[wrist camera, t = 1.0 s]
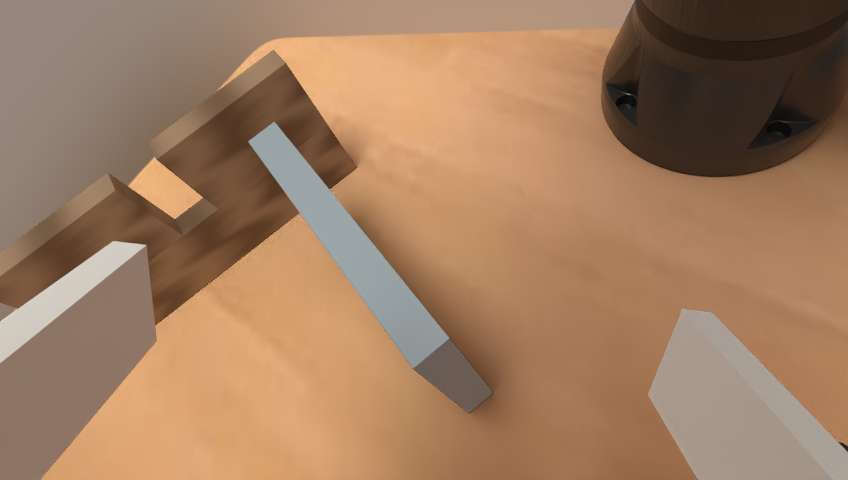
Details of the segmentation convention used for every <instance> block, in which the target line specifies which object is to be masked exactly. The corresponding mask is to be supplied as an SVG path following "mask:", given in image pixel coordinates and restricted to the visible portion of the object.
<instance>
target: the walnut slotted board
mask: <svg viewBox="0 0 848 480" xmlns="http://www.w3.org/2000/svg"><path fill="white" fill-rule="evenodd" d="M273 122H275V123H276V124H277V125H278V127H279V128H280V129H281V130H282V132H283V133H284V134H285V135H286V137H287V138H288V139H289V140H290V142H291V143H292V144H293V145H294V146H295V148H296V149H297V150H298V151H299V153H300V154H301V155H302V156H303V158H304V159H305V160H306V161H307V163H308V164H309V165H310V166H311V168H312V169H313V170H314V171H315V172H316V174H317V175H318V176H319V177H320V179H321V180H322V181H323V182H324V184H325V185H326V186H327V187H328V189H330V188H331V187H333V186H334V185H335V184H336V183H338V182H339V181H340V180H342V179H343V178H344V177H345V176H347V175H348V174H349V173H351V172H352V171H353V170H354V169H356V166H355V165H354V163H353V162H352V160H351V159H350V157H349V156H348V154H347V153H346V151H345V150H344V148H343V147H342V146H341V144H340V143H339V141H338V140H337V138H336V137H335V135H334V134H333V132H332V131H331V129H330V128H329V126H328V125H327V123H326V122H325V120H324V119H323V117H322V116H321V114H320V113H319V111H318V110H317V108H316V107H315V106H314V104H313V103H312V101H311V100H310V98H309V97H308V95H307V94H306V92H305V91H304V89H303V88H302V86H301V85H300V83H299V82H298V80H297V79H296V77H295V76H294V74H293V73H292V71H291V70H290V69H289V67H288V66H287V64H286V63H285V62H284V61H283V60H282V58H281V57H280V56H279V55H278V54H277V53H276V52H275V51H274V50H273V51H271V52H270V53H268V54H267V55H266V56H264V57H263V58H262V59H260V60H259V61H258V62H256V63H255V64H254V65H252V66H251V67H250V68H248V69H247V70H246V71H244V72H243V73H242V74H240V75H239V76H237V77H236V78H235V79H233V80H232V81H231V82H229V83H228V84H227V85H225V86H224V87H223V88H221V89H220V90H219V91H217V92H216V93H215V94H213V95H212V96H211V97H209V98H208V99H206V100H205V101H204V102H203V103H201V104H200V105H198V106H197V107H196V108H194V109H193V110H192V111H190V112H189V113H188V114H187V115H185V116H184V117H182V118H181V119H180V120H178V121H177V122H176V123H174V124H173V125H171V126H170V127H169V128H167V129H166V130H165V131H163V132H162V133H161V134H159V135H158V136H157V137H155V138H154V139H153V140H151V141H150V142H149V143H148V144H149V146H150V148H151V150H152V152H153V154H154V156H155V158H156V159H157V160H158V161H159V162H160V163H161V164H163V165H164V166H165V167H166V168H168V169H169V170H170V171H171V172H173V173H174V174H175V175H176V176H178V177H179V178H180V179H181V180H182V181H184V182H185V183H186V184H187V185H189V186H190V187H191V188H192V189H194V190H195V191H196V192H197V193H199V194H200V195H201V196H202V197H204V198H202V199H201V200H200V201H198V202H197V203H196V204H194V205H193V206H192V207H191V208H189V209H188V210H187V211H185V212H184V213H183V214H181V215H180V216H179V217H177V218H176V219H174V218H172V217H171V216H169V215H168V214H166V213H165V212H164V211H162V210H161V209H159V208H158V207H156V206H155V205H154V204H152V203H151V202H149V201H148V200H146V199H145V198H144V197H142V196H141V195H139V194H138V193H136V192H135V191H133V190H132V189H131V188H129V187H128V186H126V185H125V184H123V183H122V182H121V181H119V180H118V179H116V178H115V177H113V176H112V175H111V174H109V173H107V174H105V175H104V176H103V177H101V178H100V179H99V180H97V181H96V182H95V183H93V184H92V185H91V186H90V187H88V188H87V189H85V190H84V191H83V192H81V193H80V194H79V195H77V196H76V197H75V198H73V199H72V200H70V201H69V202H68V203H66V204H65V205H64V206H62V207H61V208H60V209H58V210H57V211H56V212H54V213H53V214H52V215H50V216H49V217H48V218H46V219H45V220H43V221H42V222H41V223H39V224H38V225H37V226H35V227H34V228H33V229H31V230H30V231H29V232H27V233H26V234H25V235H23V236H22V237H21V238H19V239H18V240H17V241H15V242H14V243H12V244H11V245H10V246H8V247H7V248H6V249H4V250H3V251H2V252H0V302H1V303H3V304H6V305H9V306H12V307H15V308H20V307H21V306H23V305H24V304H26V303H27V302H28V301H30V300H31V299H33V298H34V297H35V296H37V295H38V294H40V293H41V292H42V291H44V290H45V289H47V288H48V287H49V286H51V285H52V284H54V283H55V282H56V281H58V280H59V279H61V278H62V277H64V276H65V275H66V274H68V273H69V272H71V271H72V270H73V269H75V268H76V267H78V266H79V265H80V264H82V263H83V262H85V261H86V260H87V259H89V258H90V257H92V256H93V255H94V254H96V253H97V252H99V251H100V250H101V249H103V248H104V247H106V246H107V245H109V244H110V243H111V242H113V241H117V242H126V243H134V244H143V245H147V254H148V264H149V273H150V283H151V292H152V301H153V311H154V320H155V325H156V324H157V323H159V322H160V321H161V320H162V319H164V318H165V317H166V316H168V315H169V314H170V313H171V312H173V311H174V310H175V309H176V308H178V307H179V306H180V305H182V304H183V303H184V302H185V301H187V300H188V299H189V298H191V297H192V296H193V295H194V294H196V293H197V292H198V291H200V290H201V289H202V288H203V287H205V286H206V285H207V284H208V283H210V282H211V281H212V280H214V279H215V278H216V277H217V276H219V275H220V274H221V273H223V272H224V271H225V270H226V269H228V268H229V267H230V266H232V265H233V264H234V263H235V262H237V261H238V260H239V259H240V258H242V257H243V256H244V255H246V254H247V253H248V252H249V251H251V250H252V249H253V248H255V247H256V246H257V245H258V244H260V243H261V242H262V241H264V240H265V239H266V238H267V237H269V236H270V235H271V234H272V233H274V232H275V231H276V230H278V229H279V228H280V227H281V226H283V225H284V224H285V223H287V222H288V221H289V220H290V219H292V218H293V217H294V216H296V215H297V214H298V213H299V211H298V210H297V208H296V207H295V206H294V204H293V203H292V201H291V200H290V199H289V197H288V196H287V194H286V193H285V192H284V190H283V189H282V188H281V186H280V185H279V183H278V182H277V181H276V179H275V178H274V177H273V175H272V174H271V172H270V171H269V170H268V168H267V167H266V165H265V164H264V163H263V161H262V160H261V159H260V157H259V156H258V154H257V153H256V152H255V150H254V149H253V148H252V146H251V145H250V143H249V142H248V141H249V140H251V139H252V138H253V137H255V136H256V135H257V134H259V133H260V132H261V131H263V130H264V129H265V128H267V127H268V126H269V125H271V124H272V123H273Z"/></svg>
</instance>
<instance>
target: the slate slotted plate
mask: <svg viewBox="0 0 848 480" xmlns="http://www.w3.org/2000/svg"><path fill="white" fill-rule="evenodd" d="M248 142H249V143H250V145H251V146H252V148H253V149H254V150H255V152H256V153H257V154H258V156H259V157H260V159H261V160H262V161H263V163H264V164H265V165H266V167H267V168H268V170H269V171H270V172H271V174H272V175H273V177H274V178H275V179H276V181H277V182H278V183H279V185H280V186H281V188H282V189H283V190H284V192H285V193H286V194H287V196H288V197H289V199H290V200H291V201H292V203H293V204H294V206H295V207H296V208H297V210H298V211H299V212H300V214H301V215H302V217H303V218H304V219H305V221H306V222H307V223H308V225H309V226H310V228H311V229H312V230H313V232H314V233H315V234H316V236H317V237H318V239H319V240H320V241H321V243H322V244H323V246H324V247H325V248H326V250H327V251H328V252H329V254H330V255H331V257H332V258H333V259H334V261H335V262H336V263H337V265H338V266H339V268H340V269H341V270H342V272H343V273H344V274H345V276H346V277H347V279H348V280H349V281H350V283H351V284H352V286H353V287H354V288H355V290H356V291H357V292H358V294H359V295H360V297H361V298H362V299H363V301H364V302H365V303H366V305H367V306H368V308H369V309H370V310H371V312H372V313H373V315H374V316H375V317H376V319H377V320H378V321H379V323H380V324H381V326H382V327H383V328H384V330H385V331H386V332H387V334H388V335H389V337H390V338H391V339H392V341H393V342H394V343H395V345H396V346H397V348H398V349H399V350H400V352H401V353H402V355H403V356H404V357H405V359H406V360H407V361H408V363H409V364H410V366H411V367H412V368H413V369H414V370H415V371H416V372H417V373H419V374H420V375H421V376H423V377H424V378H425V379H426V380H428V381H429V382H430V383H431V384H433V385H434V386H435V387H436V388H438V389H439V390H440V391H441V392H443V393H444V394H445V395H446V396H448V397H449V398H450V399H452V400H453V401H454V402H455V403H457V404H458V405H459V406H460V407H462V408H463V409H464V410H465V411H467V412H468V413H470V412H471V411H473V410H474V409H475V408H476V407H477V406H478V405H480V404H481V403H482V402H483V401H484V400H485V399H487V398H488V397H489V396H490V395H491V394H492V393H493V391H492V390H491V389H490V388H489V386H488V385H487V384H486V383H485V381H484V380H483V379H482V378H481V376H480V375H479V374H478V373H477V372H476V370H475V369H474V368H473V367H472V365H471V364H470V363H469V362H468V360H467V359H466V358H465V357H464V355H463V354H462V353H461V352H460V350H459V349H458V348H457V347H456V346H455V344H454V343H453V342H452V341H451V339H450V338H449V337H448V336H447V334H446V333H445V332H444V331H443V329H442V328H441V327H440V326H439V325H438V323H437V322H436V321H435V320H434V318H433V317H432V316H431V315H430V313H429V312H428V311H427V310H426V308H425V307H424V306H423V305H422V304H421V302H420V301H419V300H418V299H417V297H416V296H415V295H414V294H413V292H412V291H411V290H410V289H409V287H408V286H407V285H406V284H405V282H404V281H403V280H402V279H401V278H400V276H399V275H398V274H397V273H396V271H395V270H394V269H393V268H392V266H391V265H390V264H389V263H388V261H387V260H386V259H385V258H384V257H383V255H382V254H381V253H380V252H379V250H378V249H377V248H376V247H375V245H374V244H373V243H372V242H371V240H370V239H369V238H368V237H367V236H366V234H365V233H364V232H363V231H362V229H361V228H360V227H359V226H358V224H357V223H356V222H355V221H354V219H353V218H352V217H351V216H350V214H349V213H348V212H347V211H346V210H345V208H344V207H343V206H342V205H341V203H340V202H339V201H338V200H337V198H336V197H335V196H334V195H333V193H332V192H331V191H330V190H329V189H328V187H327V186H326V185H325V184H324V182H323V181H322V180H321V179H320V177H319V176H318V175H317V174H316V172H315V171H314V170H313V169H312V168H311V166H310V165H309V164H308V163H307V161H306V160H305V159H304V158H303V156H302V155H301V154H300V153H299V151H298V150H297V149H296V148H295V146H294V145H293V144H292V143H291V142H290V140H289V139H288V138H287V137H286V135H285V134H284V133H283V132H282V130H281V129H280V128H279V127H278V125H277V124H276V123H275V122H273V123H272V124H271V125H269V126H268V127H267V128H265V129H264V130H263V131H261V132H260V133H259V134H257V135H256V136H255V137H253V138H252V139H251V140H249V141H248Z"/></svg>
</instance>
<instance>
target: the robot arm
mask: <svg viewBox="0 0 848 480" xmlns="http://www.w3.org/2000/svg"><path fill="white" fill-rule="evenodd" d="M847 85H848V0H635V2H634V3H633V5H632V8H631V10H630V11H629V13H628V16H627V17H626V20H625V21H624V24H623V26H622V28H621V30H620V32H619V34H618V36H617V38H616V40H615V42H614V44H613V46H612V48H611V50H610V52H609V54H608V56H607V59H606V62H605V66H604V70H603V76H602V95H601V101H602V108H603V113H604V116H605V119H606V121H607V123H608V125H609V127H610V128H611V130H612V131H613V133H614V134H615V135H616V137H617V138H618V139H619V140H620V141H621V142H622V143H623V144H624V145H625V146H626V147H627V148H629V149H630V150H631V151H633V152H634V153H636V154H637V155H639V156H640V157H642V158H644V159H646V160H648V161H650V162H652V163H654V164H657V165H659V166H662V167H665V168H668V169H671V170H675V171H678V172H683V173H689V174H696V175H707V176H726V175H737V174H744V173H750V172H754V171H758V170H762V169H765V168H769V167H772V166H774V165H777V164H779V163H782V162H784V161H786V160H788V159H790V158H792V157H793V156H795V155H797V154H798V153H800V152H801V151H803V150H804V149H805V148H807V147H808V146H809V145H810V144H812V143H813V142H814V141H815V140H816V139H817V138H818V137H819V135H820V134H821V133H822V132H823V130H824V129H825V128H826V126H827V124H828V123H829V121H830V120H831V118H832V117H833V115H834V113H835V112H836V110H837V109H838V107H839V105H840V104H841V101H842V99H843V97H844V94H845V91H846V88H847ZM156 341H157V339H156V330H155V320H154V311H153V301H152V292H151V283H150V273H149V264H148V254H147V245H143V244H134V243H126V242H117V241H113V242H111V243H110V244H109V245H107V246H106V247H104V248H103V249H101V250H100V251H99V252H97V253H96V254H94V255H93V256H92V257H90V258H89V259H87V260H86V261H85V262H83V263H82V264H80V265H79V266H78V267H76V268H75V269H73V270H72V271H71V272H69V273H68V274H66V275H65V276H64V277H62V278H61V279H59V280H58V281H56V282H55V283H54V284H52V285H51V286H49V287H48V288H47V289H45V290H44V291H42V292H41V293H40V294H38V295H37V296H35V297H34V298H33V299H31V300H30V301H28V302H27V303H26V304H24V305H23V306H21V307H20V308H18V309H17V310H16V311H14V312H13V313H11V314H10V315H9V316H7V317H6V318H5V319H3V320H2V321H1V322H0V480H41V478H42V477H43V476H44V475H45V474H46V472H47V471H48V470H49V469H50V468H51V466H52V465H53V464H54V463H55V462H56V460H57V459H58V458H59V457H60V456H61V455H62V453H63V452H64V451H65V450H66V449H67V447H68V446H69V445H70V444H71V443H72V441H73V440H74V439H75V438H76V437H77V435H78V434H79V433H80V432H81V431H82V429H83V428H84V427H85V426H86V425H87V423H88V422H89V421H90V420H91V419H92V417H93V416H94V415H95V414H96V413H97V412H98V410H99V409H100V408H101V407H102V406H103V404H104V403H105V402H106V401H107V400H108V398H109V397H110V396H111V395H112V394H113V392H114V391H115V390H116V389H117V388H118V386H119V385H120V384H121V383H122V382H123V380H124V379H125V378H126V377H127V376H128V374H129V373H130V372H131V371H132V370H133V369H134V367H135V366H136V365H137V364H138V363H139V361H140V360H141V359H142V358H143V357H144V355H145V354H146V353H147V352H148V351H149V349H150V348H151V347H152V346H153V345H154V343H155V342H156ZM648 396H649V398H650V399H651V401H652V403H653V405H654V406H655V408H656V410H657V411H658V413H659V415H660V416H661V418H662V420H663V422H664V423H665V425H666V427H667V428H668V430H669V432H670V434H671V435H672V437H673V439H674V440H675V442H676V444H677V445H678V447H679V449H680V451H681V452H682V454H683V456H684V457H685V459H686V461H687V462H688V464H689V466H690V468H691V469H692V471H693V473H694V474H695V476H696V478H697V480H848V447H847V446H846V445H845V444H843V443H840V442H837V441H836V439H835V438H834V437H833V436H832V435H831V434H830V433H829V432H828V431H827V430H826V429H825V428H824V427H823V426H822V425H821V424H820V423H819V422H818V421H817V420H816V419H815V418H814V417H813V416H812V415H811V414H810V413H809V412H808V411H807V410H806V409H805V408H804V407H803V406H802V404H801V403H800V402H799V401H798V400H797V399H796V398H795V397H794V396H793V395H792V394H791V393H790V392H789V391H788V390H787V389H786V388H785V387H784V386H783V385H782V384H781V383H780V382H779V381H778V380H777V379H776V378H775V377H774V376H773V375H772V374H771V373H770V372H769V370H768V369H767V368H766V367H765V366H764V365H763V364H762V363H761V362H760V361H759V360H758V359H757V358H756V357H755V356H754V355H753V354H752V353H751V352H750V351H749V350H748V349H747V348H746V347H745V346H744V345H743V344H742V343H741V342H740V341H739V340H738V339H737V338H736V336H735V335H734V334H733V333H732V332H731V331H730V330H729V329H728V328H727V327H726V326H725V325H724V324H723V323H722V322H721V321H720V320H719V319H718V318H717V317H716V316H715V315H714V314H713V313H712V312H706V311H698V310H689V309H682V311H681V313H680V316H679V318H678V321H677V323H676V326H675V328H674V331H673V333H672V336H671V338H670V341H669V343H668V346H667V348H666V351H665V353H664V356H663V358H662V360H661V363H660V365H659V368H658V370H657V373H656V375H655V378H654V380H653V383H652V385H651V388H650V390H649V393H648Z"/></svg>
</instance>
